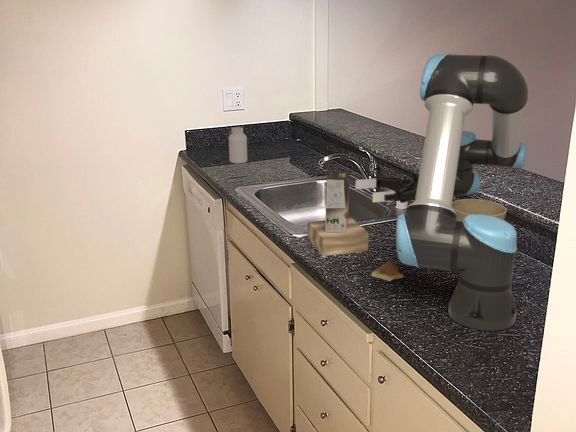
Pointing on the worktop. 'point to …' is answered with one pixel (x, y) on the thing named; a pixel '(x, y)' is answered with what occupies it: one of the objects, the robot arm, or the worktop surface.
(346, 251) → the maple block
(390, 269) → the shard
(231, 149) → the pill bottle
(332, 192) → the coffee box
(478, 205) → the plant pot
